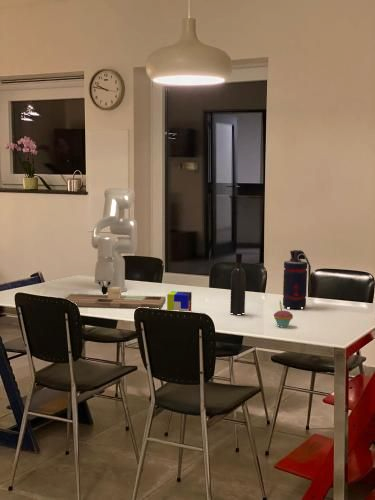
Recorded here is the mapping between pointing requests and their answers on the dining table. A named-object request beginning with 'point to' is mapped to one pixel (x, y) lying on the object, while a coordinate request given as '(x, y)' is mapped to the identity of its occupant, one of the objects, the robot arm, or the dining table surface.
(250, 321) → the dining table surface
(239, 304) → the wine bottle
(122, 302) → the trap deck
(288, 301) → the grenade
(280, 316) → the cupcake
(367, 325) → the dining table surface
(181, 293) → the puzzle toy
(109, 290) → the maple block
